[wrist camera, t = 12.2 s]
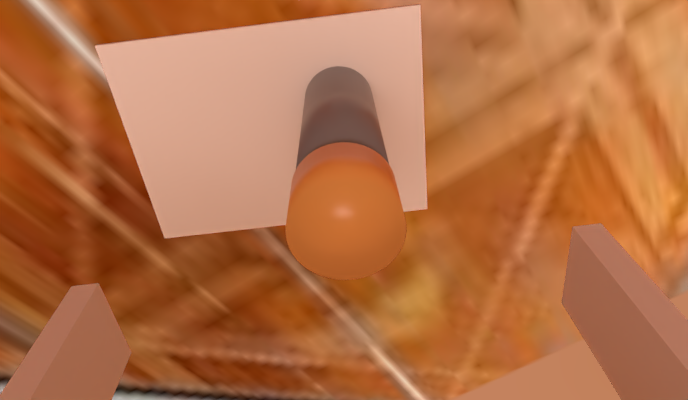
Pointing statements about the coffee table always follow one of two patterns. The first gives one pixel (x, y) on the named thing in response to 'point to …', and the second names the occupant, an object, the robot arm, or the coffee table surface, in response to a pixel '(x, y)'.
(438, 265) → the coffee table surface
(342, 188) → the marker
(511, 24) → the coffee table surface
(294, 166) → the paper
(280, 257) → the coffee table surface
